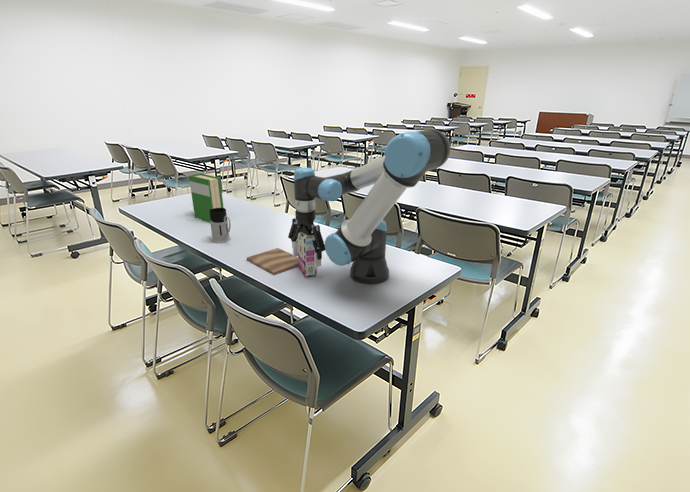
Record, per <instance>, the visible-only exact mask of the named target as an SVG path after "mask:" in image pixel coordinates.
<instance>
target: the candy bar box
mask: <svg viewBox="0 0 690 492" xmlns="http://www.w3.org/2000/svg"><path fill="white" fill-rule="evenodd" d="M311 233H313V232H311ZM313 240H314V241H316V240H315V236H314V235H312V236H308V235H307V234H305V233H302V232H301V231H299V233H298V236H297V242H298V256H297V257H298V266H297V267H298V269H299V270H300V272H301V273H302V274H303V275H304V278H308V277H315V276H317V267H315V258H314V251H316V250H315V248H314V246H313Z"/></svg>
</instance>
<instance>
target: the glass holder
mask: <svg viewBox="0 0 690 492" xmlns="http://www.w3.org/2000/svg"><path fill="white" fill-rule="evenodd" d="M209 213H210V228H211V229H210V230H211V231H210V232H211V237H212V238H211V243H215V244H223V243H228V242H230V241H231V236H230V231H231V219H230V216H228V215H227V209H226V208H213V209H210V210H209Z"/></svg>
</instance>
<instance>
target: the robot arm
mask: <svg viewBox="0 0 690 492" xmlns="http://www.w3.org/2000/svg"><path fill="white" fill-rule="evenodd" d="M450 154H451V143H450V141H449V138H448V137H447V135H445V133H443V131H440V130H438V129H430V128H429V129H424V130H417V131H411V130H410V131H405V132H402V133H400V134H398V135H395V136H394V137H392V138H391V140H389V142H388V143H387V145H386V146H385V149H384V154H383V155H384V156H383V157H381V158H377V159H375V160H373V161H371V162H368V163H366V164H363V165H361V166H359V167H357V168H354V169H351V170H349V171H346V172H344V173H340V174H335V175H330V176H327V177H326V176H325V177H321V176H317V175H316V173H315V170H314V169H313V168H311V167H299V168H296V169H294V172H293V186H294V190H293V191H294V204H295V205H294V207H295V208H294V209H295V212H294V213H295V214H294V215H295V217H294V218H292V220H291V221H292V222H291V226H290V229H289V232H288V236H287V238H288V239H290V241H291V246H292V255H293V257H298V242H297V236H298V233H299V231H301V232H302V233H305V234H307V235H308V236H312V235H314V236H315V240H316V241H314V240H313V246H314V248H315V250H316V251H314V258H315V267H316V268H318V267H321V266H322V258H323V257H322V256H323V255H322V254H323V252H324V251H325V253H326V255H327V257H328V259H329V260H330V261H331V262H332V263H333V264H335V265H337V266H341V267H343V266H346V265H350V264H351V263H352V264H351V267H350V269H349V270H350V273H349V274H350V278H351V279H352V280H353V281H355V282H359V283H361V284H367V285H368V284H370V285H371V284H372V285H373V284H375V285H376V284H379V283H383V282H385V281H387V280H388V279H389V278H390V269H389V267H388V262H387V259H386V250H387V249H386V248H387V247H386V246H387V232H388V230H387V229H388V228H387V222H386V221H385V220H384V218H385V217H386V216H387V214H388V213H390V210H392V208H393V207H394V206H395V204H396V203H397V201H398V200H399V199H400V198H401V196H402V195H403V194H404V192H406V190H407V189H408V188H414V187H416V185H417V184H418V183H419V182H420V180H421V179H422V178H423V176H424V175H425V174H426V173H428V172H430V171H434V170H436V169H438V168H441V167H442V166H444V164H445V163H447V161H448V159H449V156H450ZM372 185H373V186H372ZM370 186H372V187H371V189H370V190H369V192H368V193H367V194H366V196H365V197H364V198H363V200H362V201H361V203H360V204H359V206H358V207H357V209H356V210H355V212H354V213H353V215H352V216H351V218H350V219H349V218H348V219H345V220H344V221H343V222H342V223H341V224H340V226H339V228H338V229H337V230H336V231H335V232H334V233H333V232H332V233H330V234H329V235H328V236H327V237H326V238H325V241H324V238H323V236H322V233H321V232H322V231H321V226H320V225H319V224H317V225H315V223H314V222H315V220H316V199H320V200H323V201H326V202H337V201H338V200H339V199H340V198H341V196H343V195H346V194H350V193H355V192H357V191H359V190H361V189H364V188H367V187H370ZM311 232H312V233H311Z"/></svg>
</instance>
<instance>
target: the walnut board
mask: <svg viewBox="0 0 690 492" xmlns="http://www.w3.org/2000/svg"><path fill="white" fill-rule="evenodd" d="M246 261H248V262H249V263H251V264H253V265H254V266H257V267H259V268H260V269H262V270H264V271H266V272H267V273H269V274H272V275H273V276H275V275H277V274H281V273H284V272H286V271H288V270H292V269H294V268H297V267H299V266H298V256H296V257H293V253H290V252H288V251H285V250H284V249H281V248H279V247H276V248H272V249H269V250H267V251H264V252H259V253H256V254H254V255H250V256H248V257H247V256H246Z"/></svg>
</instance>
